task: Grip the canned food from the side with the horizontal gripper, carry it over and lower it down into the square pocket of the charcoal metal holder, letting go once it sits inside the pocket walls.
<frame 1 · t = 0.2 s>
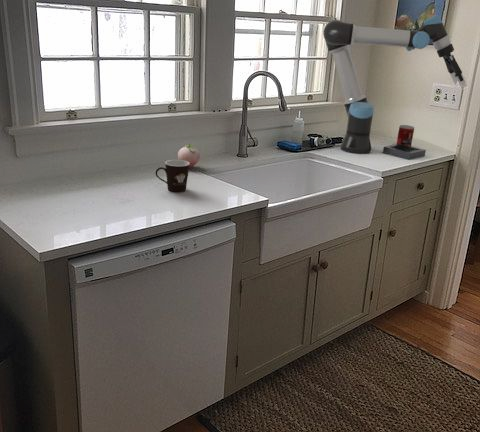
hand: (461, 85, 261), 35 cm above the worktop, tool tilted 35°, fingers open, 13 cm apart
canned food: (403, 147, 283), on the worktop
decorative fruit: (187, 168, 217), on the worktop
coffee mug: (172, 190, 189), on the worktop
square holder: (403, 154, 266), on the worktop
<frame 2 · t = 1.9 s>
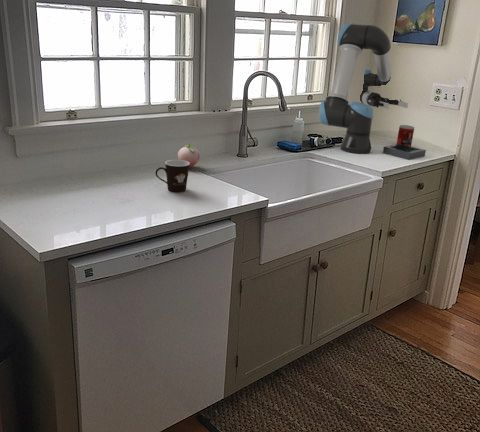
hand: (398, 105, 283), 20 cm above the worktop, tool horizontal, fingers open, 13 cm apart
nothing on the worktop moved.
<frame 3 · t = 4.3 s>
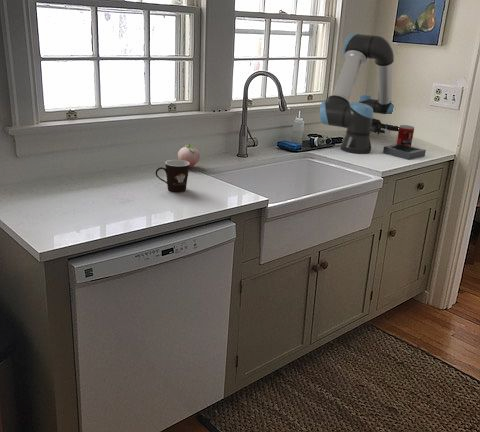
hand: (398, 132, 286), 6 cm above the worktop, tool horizontal, fingers open, 13 cm apart
nothing on the worktop moved.
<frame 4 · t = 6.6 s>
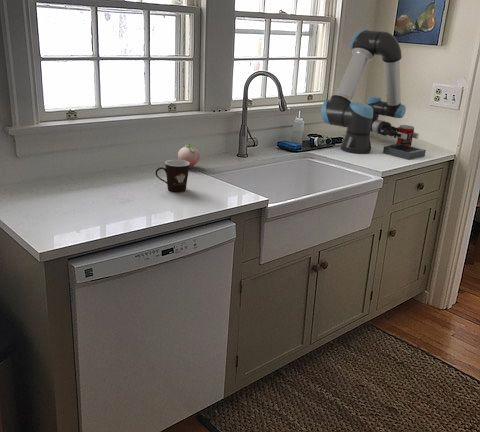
hand: (412, 136, 277), 7 cm above the worktop, tool horizontal, fingers closed on canned food, 8 cm apart
canned food: (403, 147, 283), on the worktop, touching gripper
everything else where it was.
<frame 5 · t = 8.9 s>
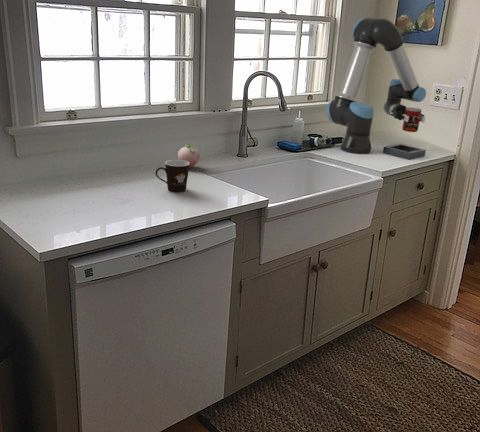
hand: (415, 119, 260), 18 cm above the worktop, tool horizontal, fingers closed on canned food, 8 cm apart
canned food: (409, 130, 267), point 11 cm above the worktop, touching gripper
everything else where it was.
when the fingers open (9 cm above the worktop, at t = 11.5 s): canned food drops 1 cm, resting on square holder.
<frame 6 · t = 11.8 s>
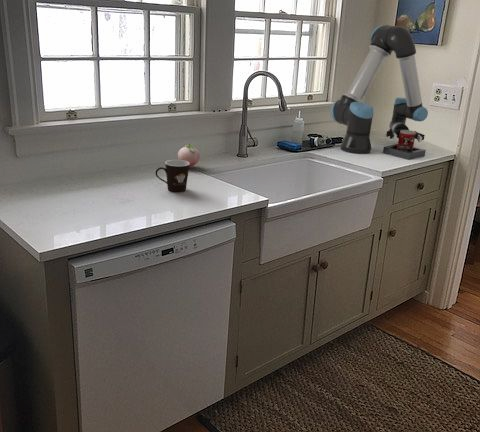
hand: (408, 139, 259), 9 cm above the worktop, tool horizontal, fingers open, 11 cm apart
canned food: (403, 153, 265), point 1 cm above the worktop, touching square holder
everything else where it was.
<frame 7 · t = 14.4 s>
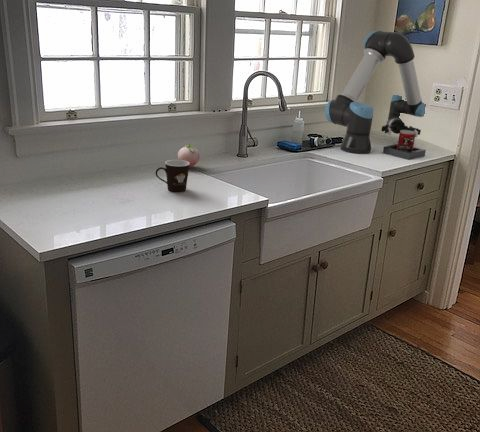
hand: (403, 133, 271), 9 cm above the worktop, tool horizontal, fingers open, 13 cm apart
nothing on the worktop moved.
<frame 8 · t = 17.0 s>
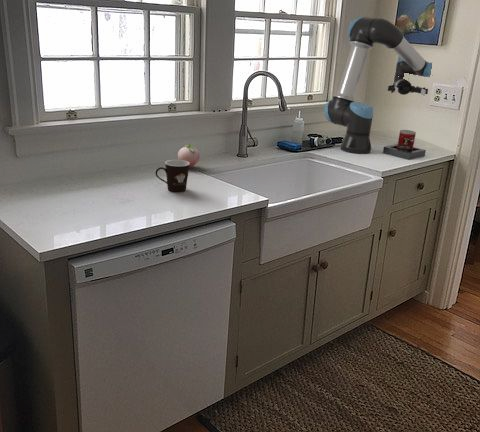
hand: (410, 91, 264), 30 cm above the worktop, tool horizontal, fingers open, 13 cm apart
nothing on the worktop moved.
at the end: canned food 0.1 cm off-centre on the square holder, point 0.6 cm above the square holder's base; canned food tilted 0°; the gripper is holding nothing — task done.
